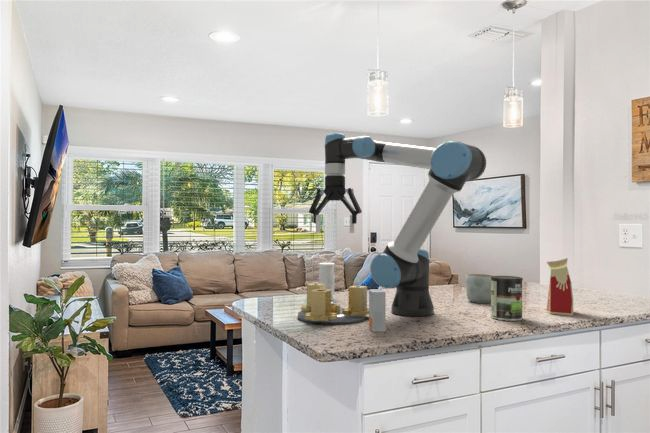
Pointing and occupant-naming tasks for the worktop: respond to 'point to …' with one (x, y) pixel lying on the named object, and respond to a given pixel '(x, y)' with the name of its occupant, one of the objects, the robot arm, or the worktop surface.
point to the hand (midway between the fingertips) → (334, 232)
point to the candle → (327, 276)
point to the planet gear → (321, 306)
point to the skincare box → (377, 310)
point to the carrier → (344, 315)
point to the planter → (479, 287)
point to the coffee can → (506, 298)
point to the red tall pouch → (560, 289)
